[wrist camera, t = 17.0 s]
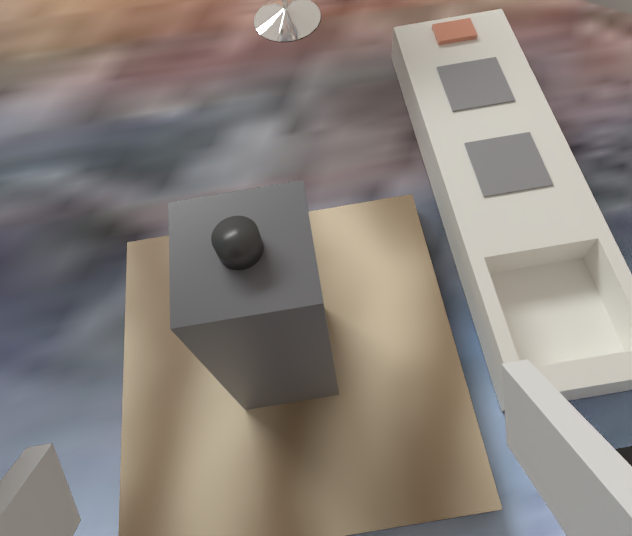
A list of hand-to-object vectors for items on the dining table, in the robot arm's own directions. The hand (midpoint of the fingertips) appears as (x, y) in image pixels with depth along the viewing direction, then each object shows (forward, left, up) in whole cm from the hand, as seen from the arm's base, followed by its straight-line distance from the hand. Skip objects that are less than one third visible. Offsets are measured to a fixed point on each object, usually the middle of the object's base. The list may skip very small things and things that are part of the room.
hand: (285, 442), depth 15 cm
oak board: (0, +5, -10) cm, 11 cm away
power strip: (+13, +13, -10) cm, 21 cm away
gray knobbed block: (0, +5, -8) cm, 10 cm away
